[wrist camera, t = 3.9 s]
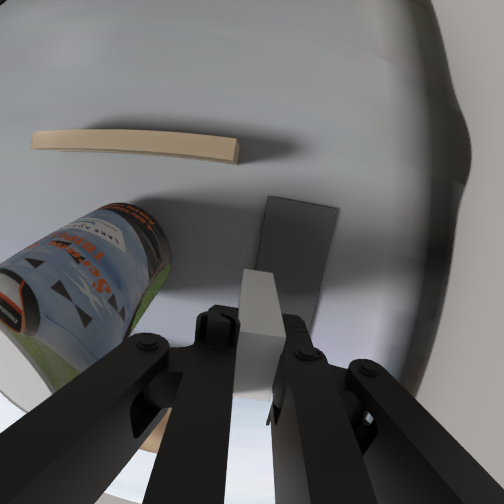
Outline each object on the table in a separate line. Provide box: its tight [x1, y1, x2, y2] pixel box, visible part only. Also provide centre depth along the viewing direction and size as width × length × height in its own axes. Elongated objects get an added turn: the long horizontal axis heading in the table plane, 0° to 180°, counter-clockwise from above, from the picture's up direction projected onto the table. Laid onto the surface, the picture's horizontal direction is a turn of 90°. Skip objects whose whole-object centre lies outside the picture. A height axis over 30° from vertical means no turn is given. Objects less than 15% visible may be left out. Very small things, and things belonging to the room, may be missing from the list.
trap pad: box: [256, 196, 337, 332], centre depth 17 cm, size 10×4×1 cm, turn 171°
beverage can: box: [0, 203, 171, 414], centre depth 11 cm, size 6×7×12 cm
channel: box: [31, 129, 240, 165], centre depth 16 cm, size 15×12×4 cm
